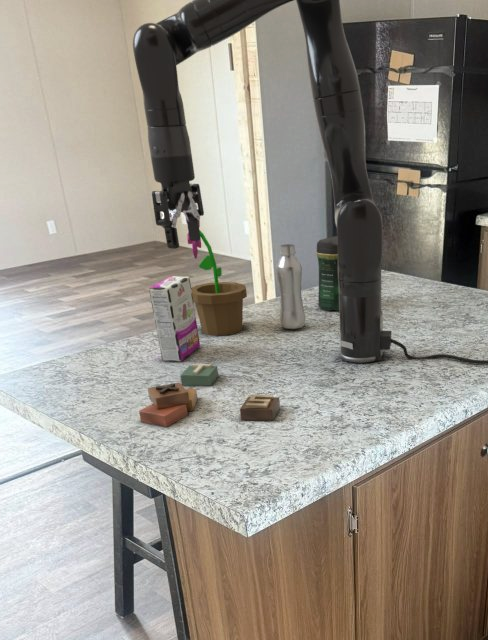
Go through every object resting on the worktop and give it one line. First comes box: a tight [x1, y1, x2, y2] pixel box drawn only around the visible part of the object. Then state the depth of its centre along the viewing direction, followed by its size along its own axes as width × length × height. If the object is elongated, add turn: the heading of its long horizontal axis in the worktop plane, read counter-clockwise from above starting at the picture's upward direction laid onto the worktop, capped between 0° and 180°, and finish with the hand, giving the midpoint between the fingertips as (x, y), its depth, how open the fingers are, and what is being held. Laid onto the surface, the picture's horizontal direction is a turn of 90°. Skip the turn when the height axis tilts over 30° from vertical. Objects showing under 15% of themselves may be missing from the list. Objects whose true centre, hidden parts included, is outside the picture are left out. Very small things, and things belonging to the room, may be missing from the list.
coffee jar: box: [316, 235, 339, 312], centre depth 191 cm, size 10×8×19 cm
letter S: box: [239, 394, 281, 422], centre depth 129 cm, size 6×6×3 cm
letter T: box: [180, 363, 219, 387], centre depth 146 cm, size 6×6×3 cm
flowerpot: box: [185, 217, 248, 337], centre depth 171 cm, size 14×14×30 cm
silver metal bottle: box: [275, 243, 306, 330], centre depth 173 cm, size 6×7×20 cm
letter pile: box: [138, 381, 198, 428], centre depth 130 cm, size 8×14×5 cm, turn 174°
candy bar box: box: [148, 275, 201, 363], centre depth 158 cm, size 11×5×16 cm, turn 168°
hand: (184, 244), depth 140 cm, fingers open, 8 cm apart
